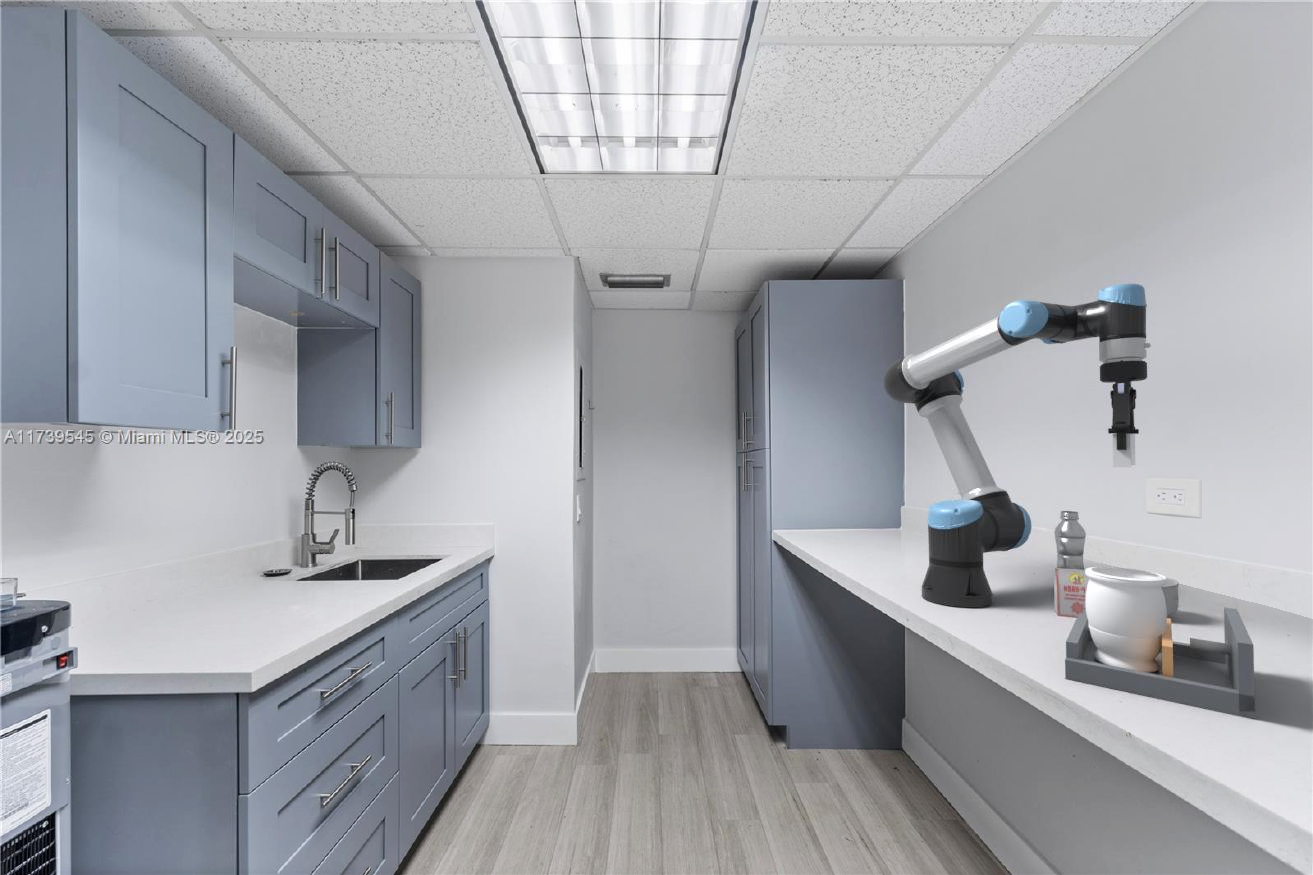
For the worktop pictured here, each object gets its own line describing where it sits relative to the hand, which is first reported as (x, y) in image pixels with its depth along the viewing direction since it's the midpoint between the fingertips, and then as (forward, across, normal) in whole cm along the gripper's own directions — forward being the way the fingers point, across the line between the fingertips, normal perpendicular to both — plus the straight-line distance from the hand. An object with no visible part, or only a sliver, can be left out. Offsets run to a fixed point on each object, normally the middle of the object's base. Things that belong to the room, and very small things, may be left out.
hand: (1124, 466), depth 117 cm
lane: (+33, -28, -5) cm, 43 cm away
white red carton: (+33, +3, +9) cm, 34 cm away
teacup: (+33, +14, -2) cm, 36 cm away
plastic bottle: (+33, +27, +12) cm, 44 cm away
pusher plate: (+31, -28, -6) cm, 43 cm away
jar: (+32, -29, -1) cm, 43 cm away
